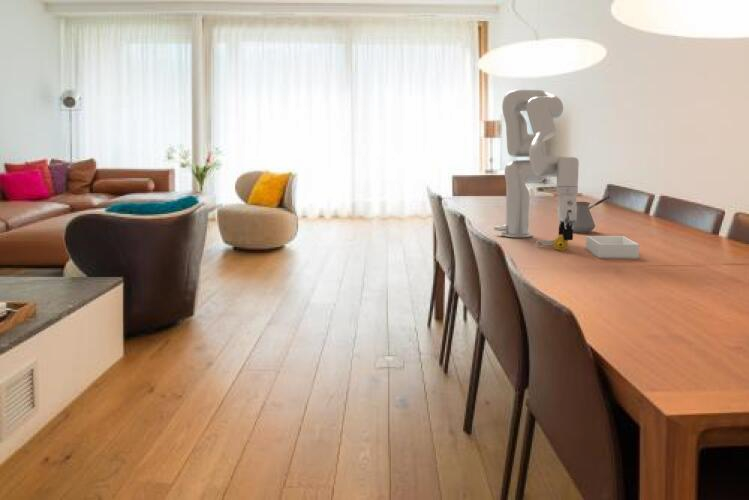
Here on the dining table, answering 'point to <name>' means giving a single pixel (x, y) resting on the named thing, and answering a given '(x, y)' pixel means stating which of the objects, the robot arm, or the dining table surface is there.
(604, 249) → the bin
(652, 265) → the dining table surface
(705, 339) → the dining table surface
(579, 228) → the coffee pot
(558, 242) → the pressure relief valve
